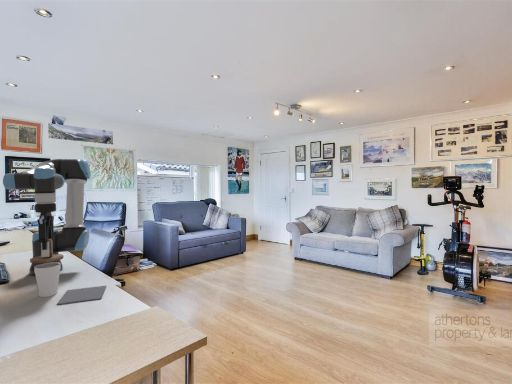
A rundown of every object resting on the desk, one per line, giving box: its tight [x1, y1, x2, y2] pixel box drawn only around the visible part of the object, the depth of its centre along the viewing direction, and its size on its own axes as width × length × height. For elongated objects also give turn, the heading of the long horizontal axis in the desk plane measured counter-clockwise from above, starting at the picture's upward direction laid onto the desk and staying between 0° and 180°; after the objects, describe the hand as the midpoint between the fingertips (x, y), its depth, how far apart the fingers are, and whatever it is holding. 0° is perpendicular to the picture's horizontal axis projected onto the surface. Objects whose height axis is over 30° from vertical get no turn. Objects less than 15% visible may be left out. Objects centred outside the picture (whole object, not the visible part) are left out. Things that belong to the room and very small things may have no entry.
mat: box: [56, 285, 107, 306], centre depth 126 cm, size 16×16×1 cm
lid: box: [29, 239, 64, 264], centre depth 127 cm, size 12×12×9 cm
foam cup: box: [34, 262, 61, 298], centre depth 127 cm, size 10×9×13 cm
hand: (47, 255), depth 127 cm, fingers closed on lid, 3 cm apart
